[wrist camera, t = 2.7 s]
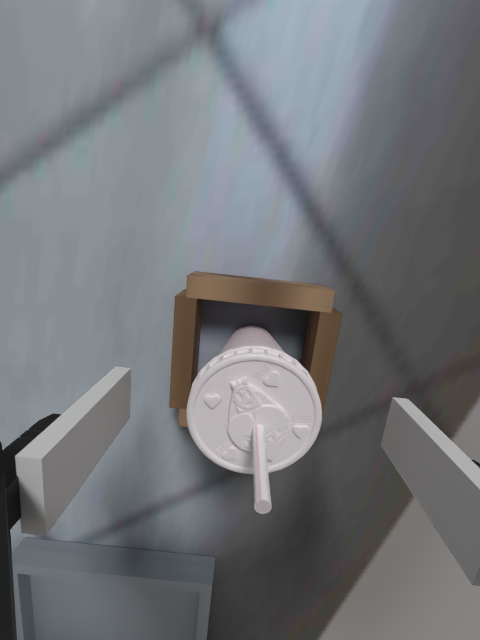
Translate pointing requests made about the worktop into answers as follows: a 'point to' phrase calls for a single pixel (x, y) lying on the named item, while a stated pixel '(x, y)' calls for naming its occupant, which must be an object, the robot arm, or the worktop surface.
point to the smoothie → (254, 409)
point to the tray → (109, 592)
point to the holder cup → (254, 292)
